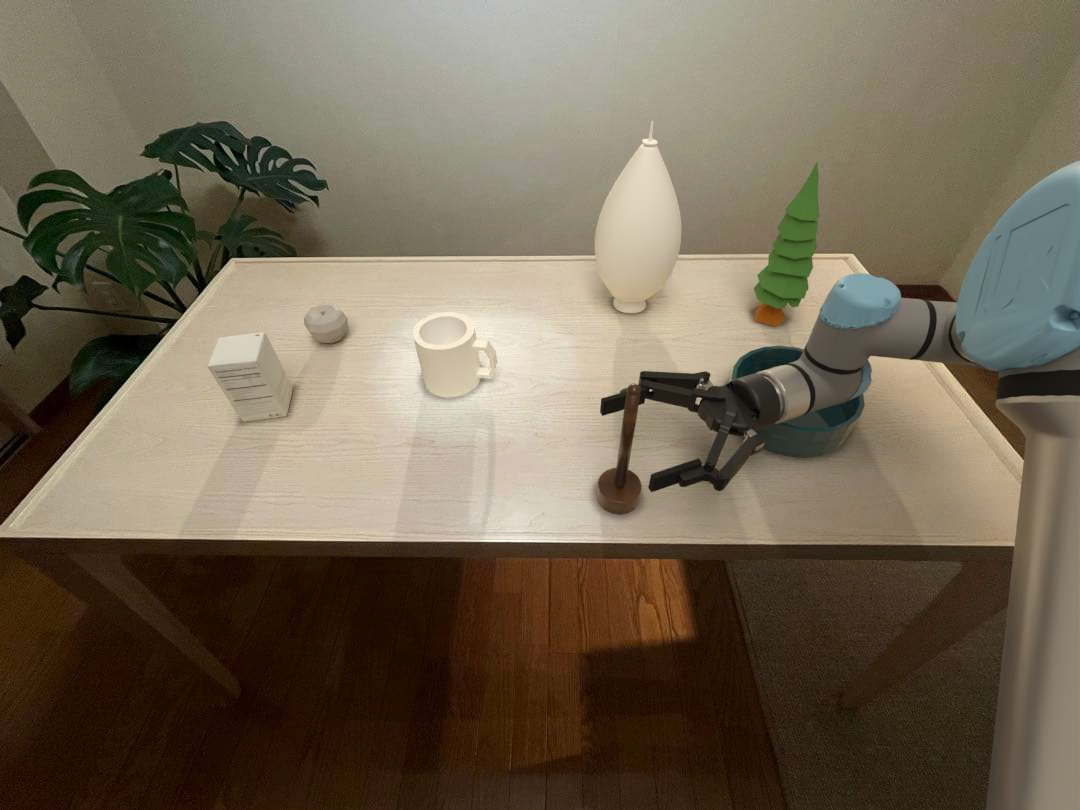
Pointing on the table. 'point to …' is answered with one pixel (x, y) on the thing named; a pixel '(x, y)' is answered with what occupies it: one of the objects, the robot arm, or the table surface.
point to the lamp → (638, 230)
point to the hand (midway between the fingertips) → (624, 442)
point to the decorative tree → (790, 256)
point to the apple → (326, 323)
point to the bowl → (807, 431)
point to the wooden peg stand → (622, 464)
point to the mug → (451, 354)
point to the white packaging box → (251, 376)
